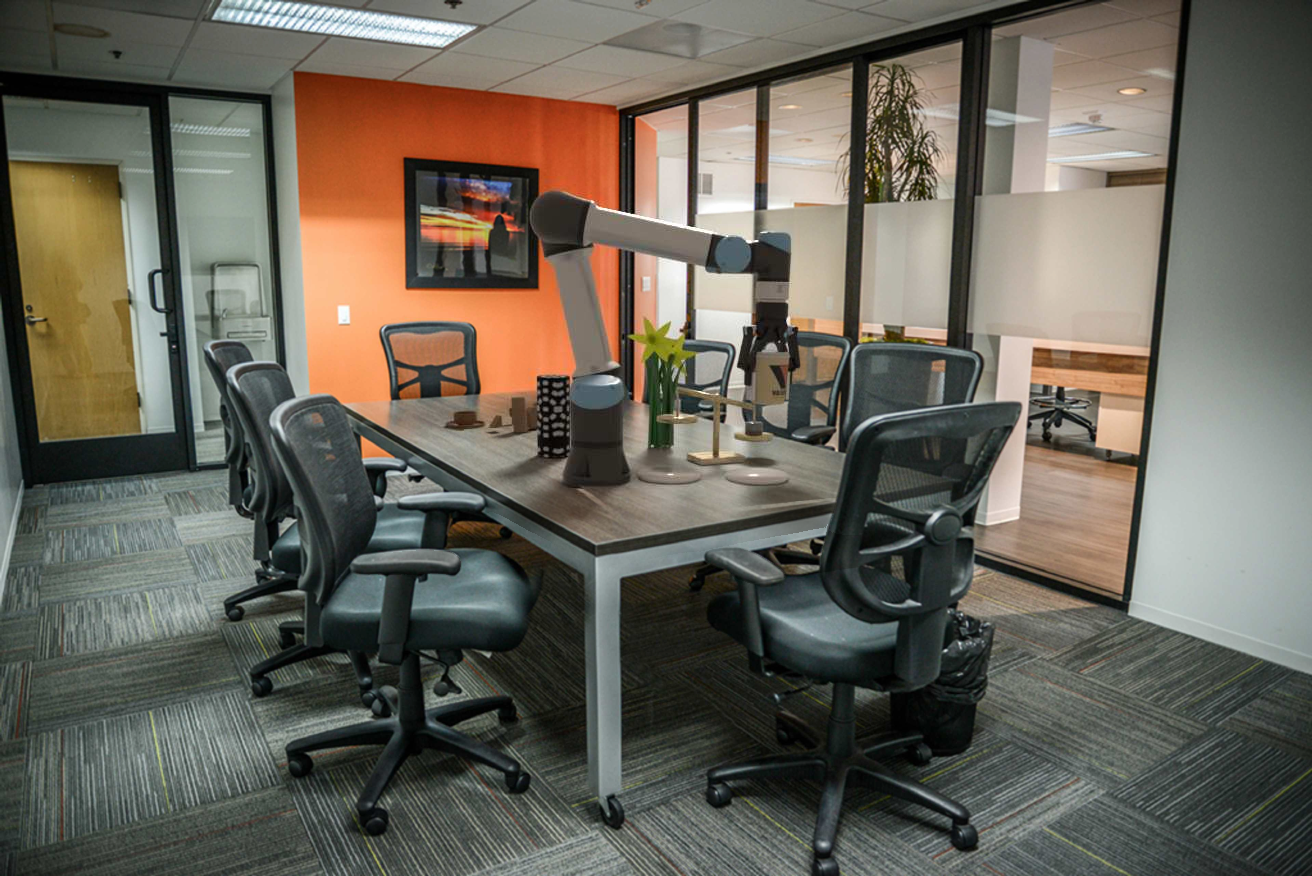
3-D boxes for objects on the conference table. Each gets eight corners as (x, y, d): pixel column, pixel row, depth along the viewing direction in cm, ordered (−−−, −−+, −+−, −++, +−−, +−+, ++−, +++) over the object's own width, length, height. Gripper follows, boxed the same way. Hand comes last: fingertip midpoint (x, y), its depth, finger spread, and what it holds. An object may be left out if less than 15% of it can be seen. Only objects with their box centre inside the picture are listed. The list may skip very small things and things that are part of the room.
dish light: (653, 485, 193) (653, 481, 193) (629, 473, 205) (629, 469, 205) (711, 480, 198) (711, 476, 198) (684, 469, 211) (684, 464, 211)
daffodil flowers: (665, 441, 250) (666, 315, 244) (703, 448, 240) (705, 316, 234) (619, 447, 239) (620, 315, 233) (657, 455, 228) (659, 317, 222)
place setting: (462, 423, 283) (462, 404, 282) (520, 426, 277) (520, 407, 276) (433, 431, 267) (432, 411, 266) (494, 435, 261) (493, 415, 260)
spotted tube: (531, 455, 226) (530, 377, 222) (547, 450, 233) (546, 374, 230) (560, 458, 223) (560, 378, 219) (575, 453, 230) (575, 375, 227)
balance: (666, 468, 211) (667, 389, 208) (649, 461, 220) (650, 385, 217) (780, 459, 224) (782, 385, 221) (760, 453, 233) (762, 381, 230)
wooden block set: (540, 426, 274) (537, 393, 273) (556, 428, 267) (553, 394, 266) (488, 433, 262) (485, 398, 261) (504, 435, 256) (501, 399, 254)
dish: (744, 486, 193) (744, 482, 193) (714, 474, 205) (714, 470, 205) (799, 481, 198) (800, 477, 198) (767, 470, 211) (767, 465, 211)
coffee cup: (775, 406, 202) (778, 353, 200) (739, 402, 207) (742, 350, 205) (794, 402, 209) (797, 351, 207) (759, 399, 215) (761, 349, 213)
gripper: (740, 300, 196) (736, 402, 200) (820, 302, 206) (814, 400, 209) (723, 300, 203) (719, 398, 207) (801, 301, 212) (796, 396, 216)
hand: (767, 399), depth 208 cm, fingers closed on coffee cup, 8 cm apart
